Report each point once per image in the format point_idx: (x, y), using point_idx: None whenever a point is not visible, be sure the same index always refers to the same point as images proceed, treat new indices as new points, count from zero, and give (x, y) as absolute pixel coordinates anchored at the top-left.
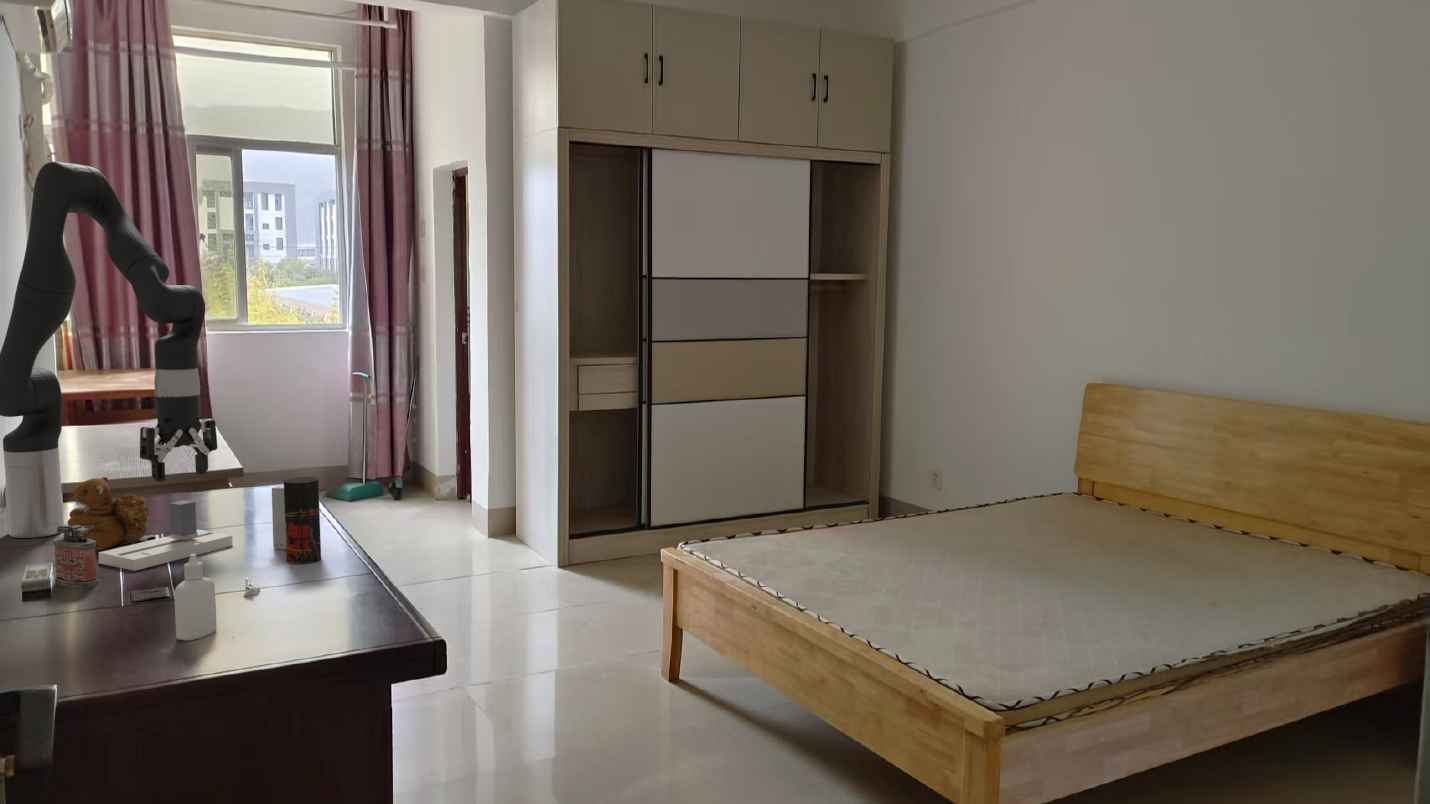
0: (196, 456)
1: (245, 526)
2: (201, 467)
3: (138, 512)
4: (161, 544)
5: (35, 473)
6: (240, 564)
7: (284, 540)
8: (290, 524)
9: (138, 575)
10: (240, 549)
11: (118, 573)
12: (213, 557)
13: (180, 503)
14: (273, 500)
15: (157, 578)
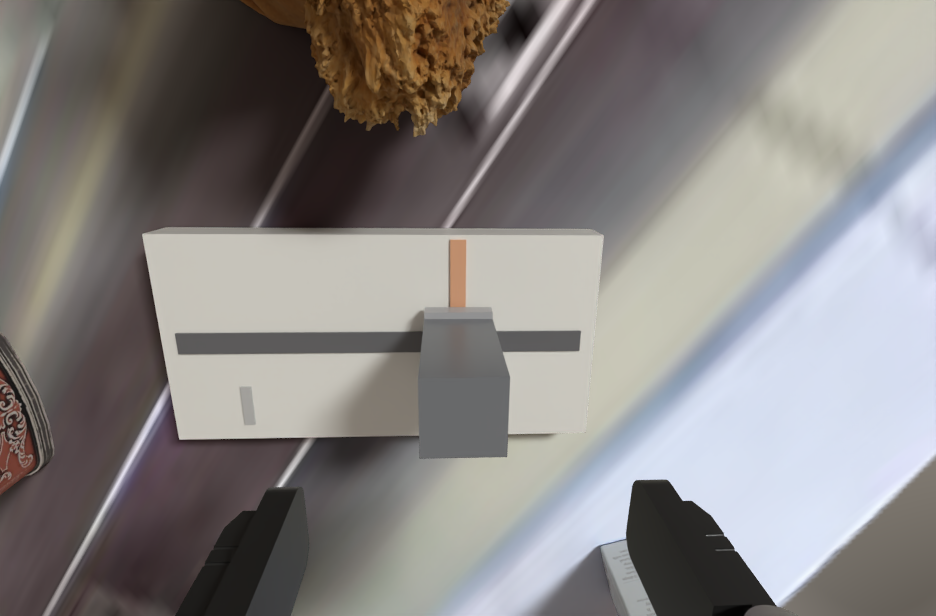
0: (700, 610)
1: (831, 204)
2: (649, 575)
3: (385, 114)
4: (357, 339)
5: None
6: (428, 597)
7: (615, 601)
8: None
9: (181, 470)
10: (551, 469)
11: (150, 402)
12: (440, 480)
13: (440, 430)
14: None
15: (201, 538)
